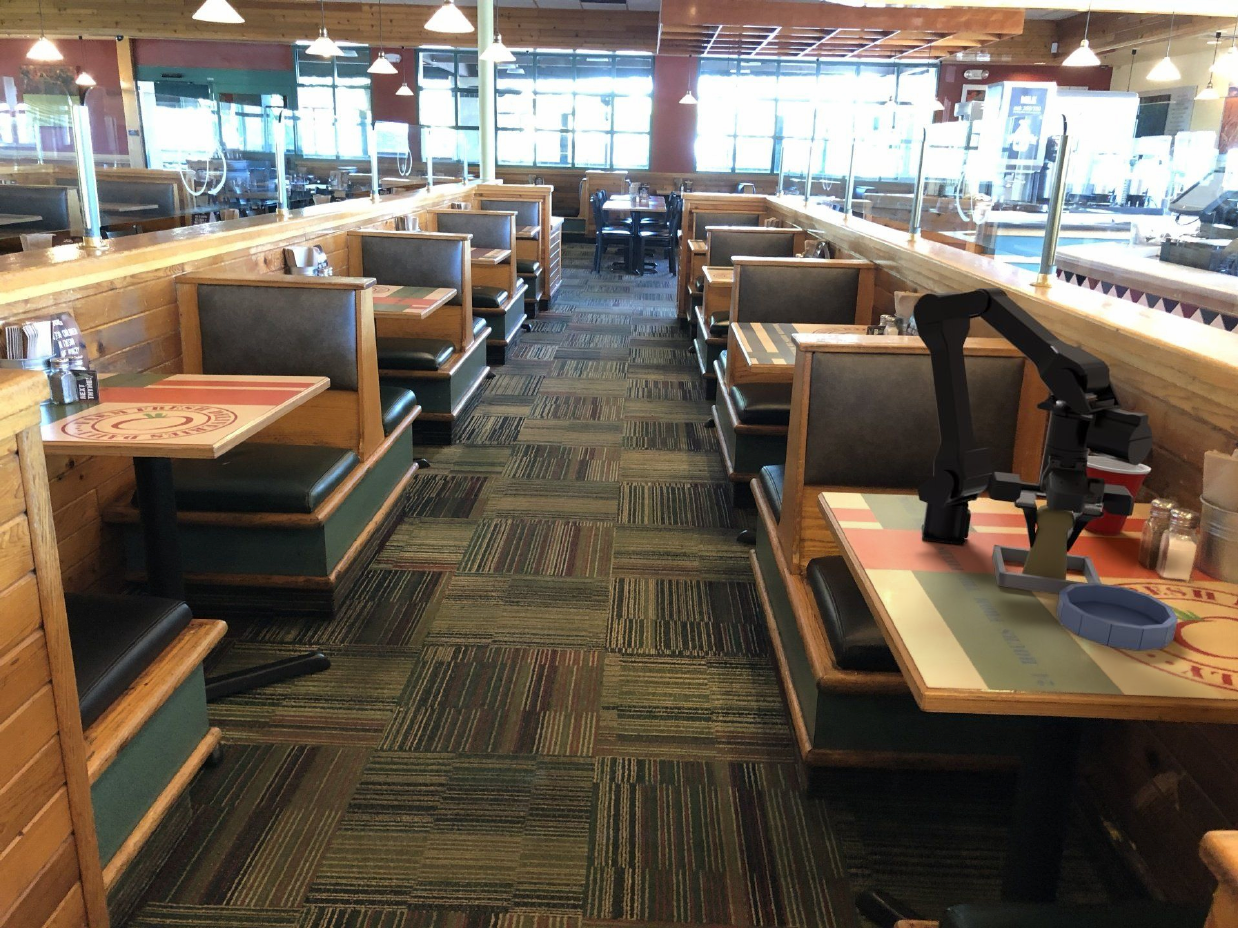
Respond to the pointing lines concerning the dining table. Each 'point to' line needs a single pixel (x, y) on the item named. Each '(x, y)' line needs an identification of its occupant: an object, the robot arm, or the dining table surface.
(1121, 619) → the bowl
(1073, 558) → the open gray frame
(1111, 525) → the plastic cup
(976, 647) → the dining table surface
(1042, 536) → the olive game pawn
